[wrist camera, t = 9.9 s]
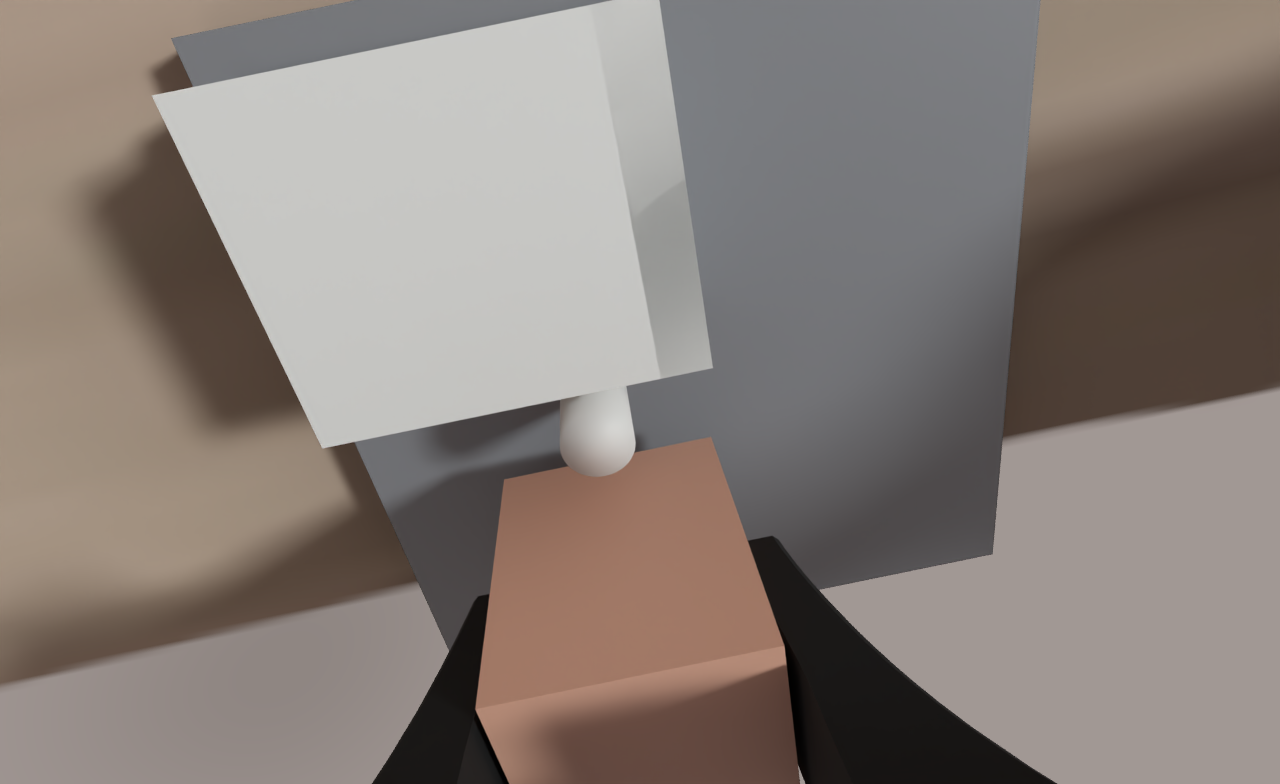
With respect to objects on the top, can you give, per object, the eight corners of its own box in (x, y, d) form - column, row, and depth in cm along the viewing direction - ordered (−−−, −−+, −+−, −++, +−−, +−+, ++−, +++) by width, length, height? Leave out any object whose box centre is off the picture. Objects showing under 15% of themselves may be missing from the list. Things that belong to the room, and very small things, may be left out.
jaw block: (711, 436, 13) (784, 646, 9) (734, 589, 15) (804, 822, 11) (504, 479, 13) (475, 709, 9) (553, 626, 15) (550, 874, 11)
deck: (1015, -133, 11) (1215, -199, 8) (971, 528, 18) (1069, 651, 15) (201, 36, 11) (40, 46, 8) (460, 632, 18) (435, 780, 15)
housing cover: (634, -3, 11) (658, -10, 8) (683, 297, 13) (713, 368, 11) (252, 76, 11) (151, 95, 8) (370, 362, 13) (322, 448, 11)
